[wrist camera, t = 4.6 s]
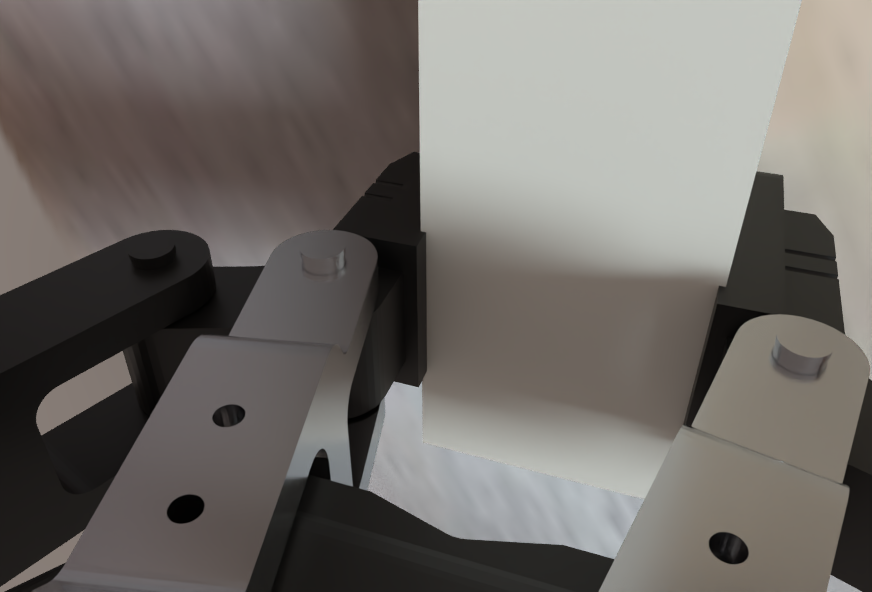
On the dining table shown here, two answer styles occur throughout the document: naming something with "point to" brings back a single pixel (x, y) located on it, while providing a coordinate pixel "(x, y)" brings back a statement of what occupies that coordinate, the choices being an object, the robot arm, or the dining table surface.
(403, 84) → the dining table surface
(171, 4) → the dining table surface
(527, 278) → the bar
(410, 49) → the dining table surface
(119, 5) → the dining table surface
